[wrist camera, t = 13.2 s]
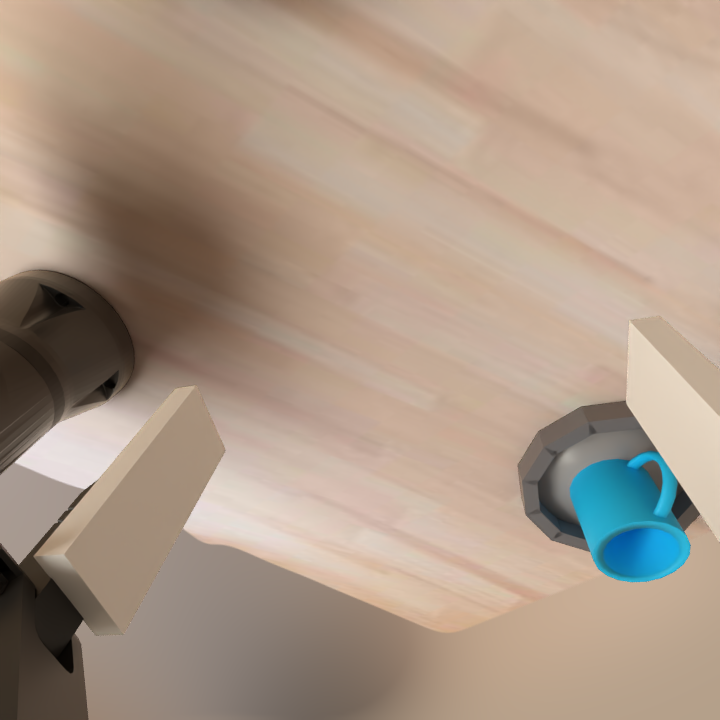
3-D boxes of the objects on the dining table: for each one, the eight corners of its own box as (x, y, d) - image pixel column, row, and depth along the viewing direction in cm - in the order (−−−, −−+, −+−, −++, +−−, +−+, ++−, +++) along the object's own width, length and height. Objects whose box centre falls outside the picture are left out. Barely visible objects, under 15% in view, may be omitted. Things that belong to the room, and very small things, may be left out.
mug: (627, 524, 52) (659, 590, 45) (556, 505, 52) (577, 569, 45) (689, 442, 46) (737, 504, 39) (609, 421, 46) (643, 479, 39)
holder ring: (526, 538, 56) (530, 556, 54) (511, 415, 48) (516, 430, 46) (696, 526, 52) (707, 545, 50) (711, 390, 44) (726, 405, 42)
